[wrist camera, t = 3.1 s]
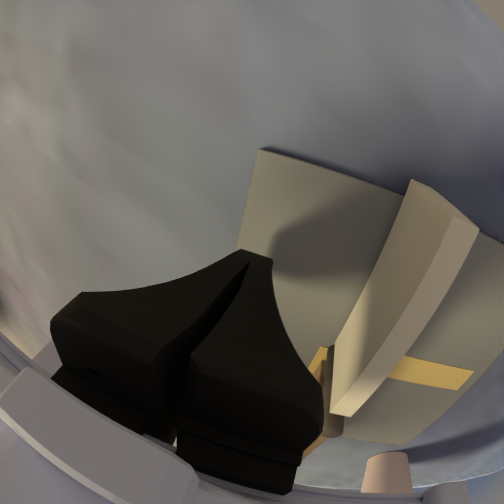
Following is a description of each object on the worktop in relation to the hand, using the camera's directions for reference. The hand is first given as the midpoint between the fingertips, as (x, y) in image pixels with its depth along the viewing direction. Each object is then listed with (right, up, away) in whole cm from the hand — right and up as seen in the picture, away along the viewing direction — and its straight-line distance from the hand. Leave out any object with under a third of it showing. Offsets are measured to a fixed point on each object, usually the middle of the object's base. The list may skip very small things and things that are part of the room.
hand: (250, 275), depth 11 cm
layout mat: (+6, -5, +2) cm, 8 cm away
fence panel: (+5, 0, 0) cm, 5 cm away
